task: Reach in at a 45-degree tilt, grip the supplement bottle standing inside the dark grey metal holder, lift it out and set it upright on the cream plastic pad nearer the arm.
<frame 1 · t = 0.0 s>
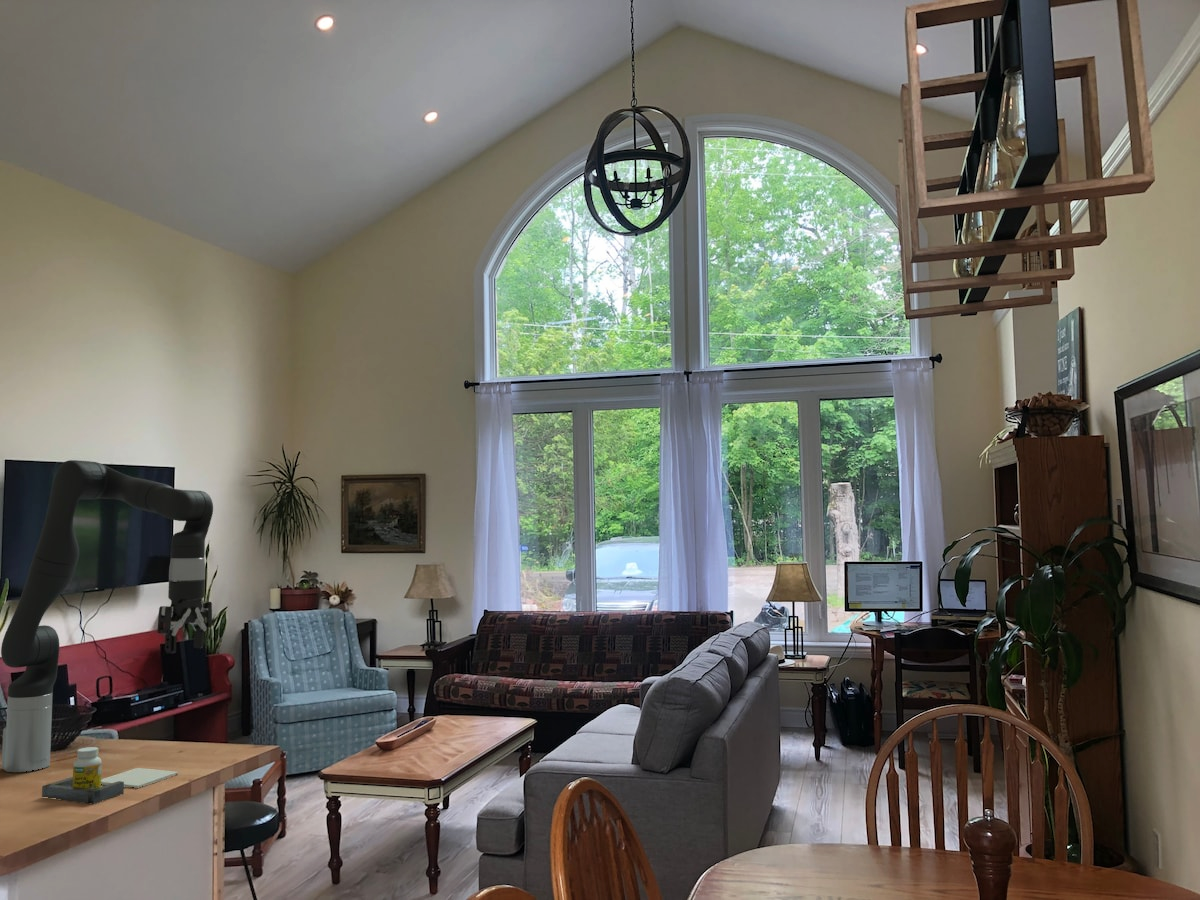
hand: (184, 650, 210), 29 cm above the worktop, tool pointing down, fingers open, 8 cm apart
supplement bottle: (86, 795, 199), resting in metal holder
cream pad: (137, 779, 211), on the worktop
metal holder: (86, 794, 199), on the worktop
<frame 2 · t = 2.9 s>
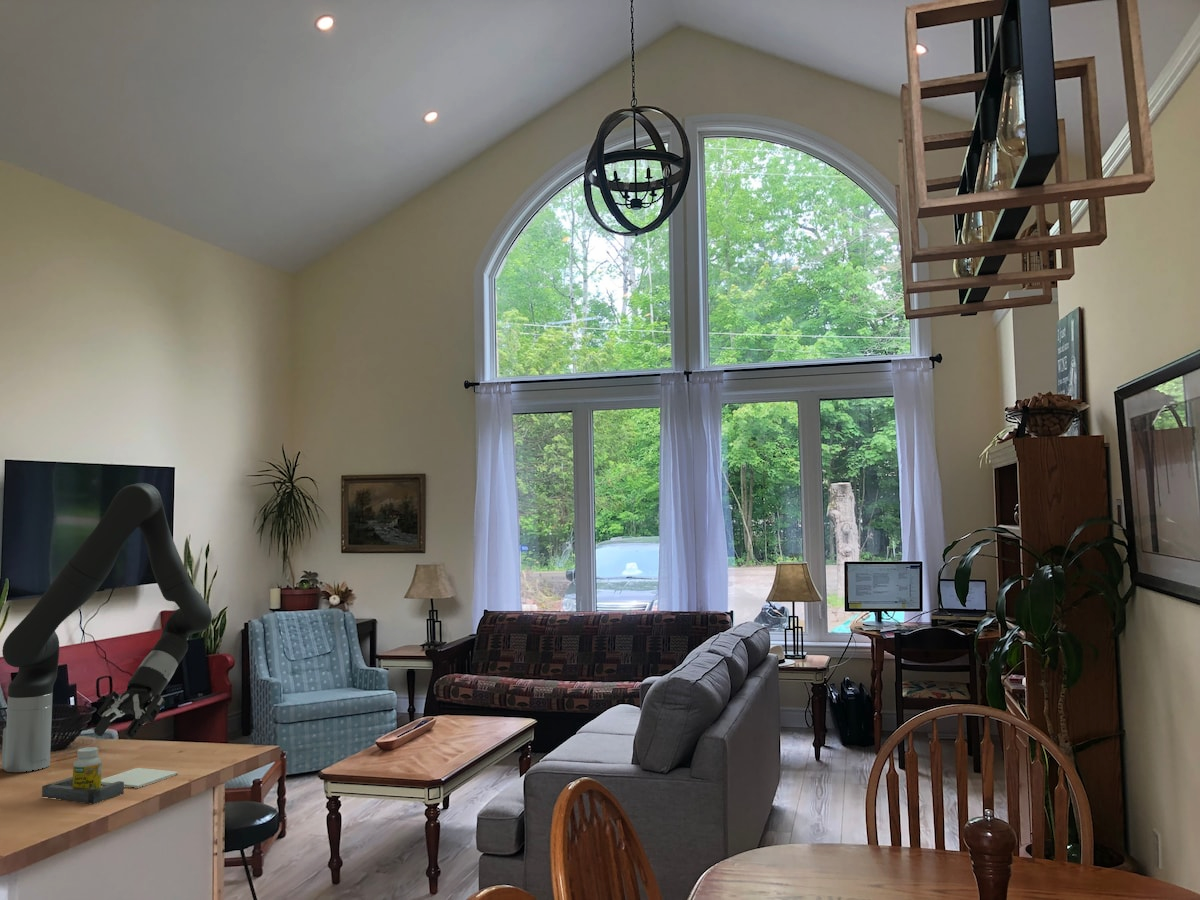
hand: (112, 735, 206), 11 cm above the worktop, tool tilted 45°, fingers open, 8 cm apart
nothing on the worktop moved.
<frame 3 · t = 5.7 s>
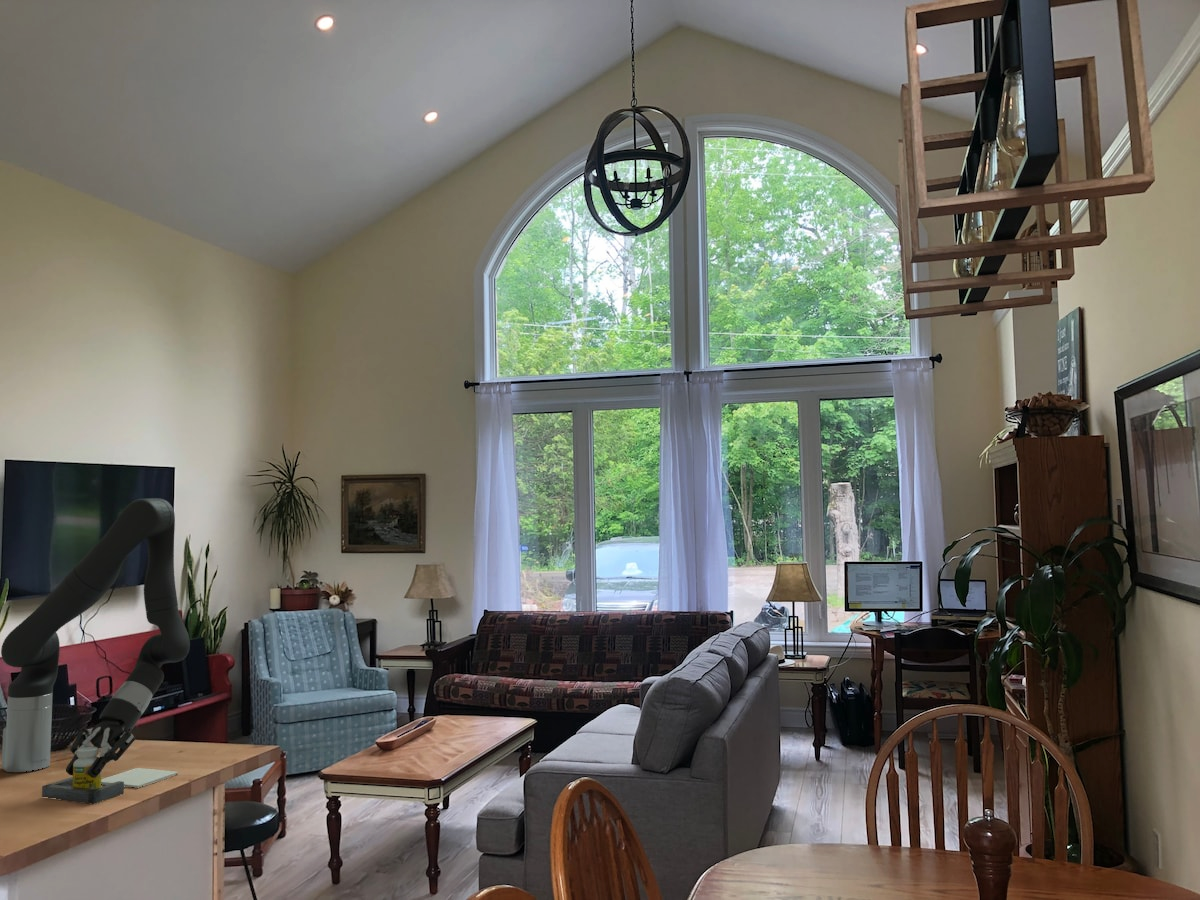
hand: (80, 774, 198), 5 cm above the worktop, tool tilted 45°, fingers closed on supplement bottle, 5 cm apart
supplement bottle: (86, 795, 199), resting in metal holder, touching gripper
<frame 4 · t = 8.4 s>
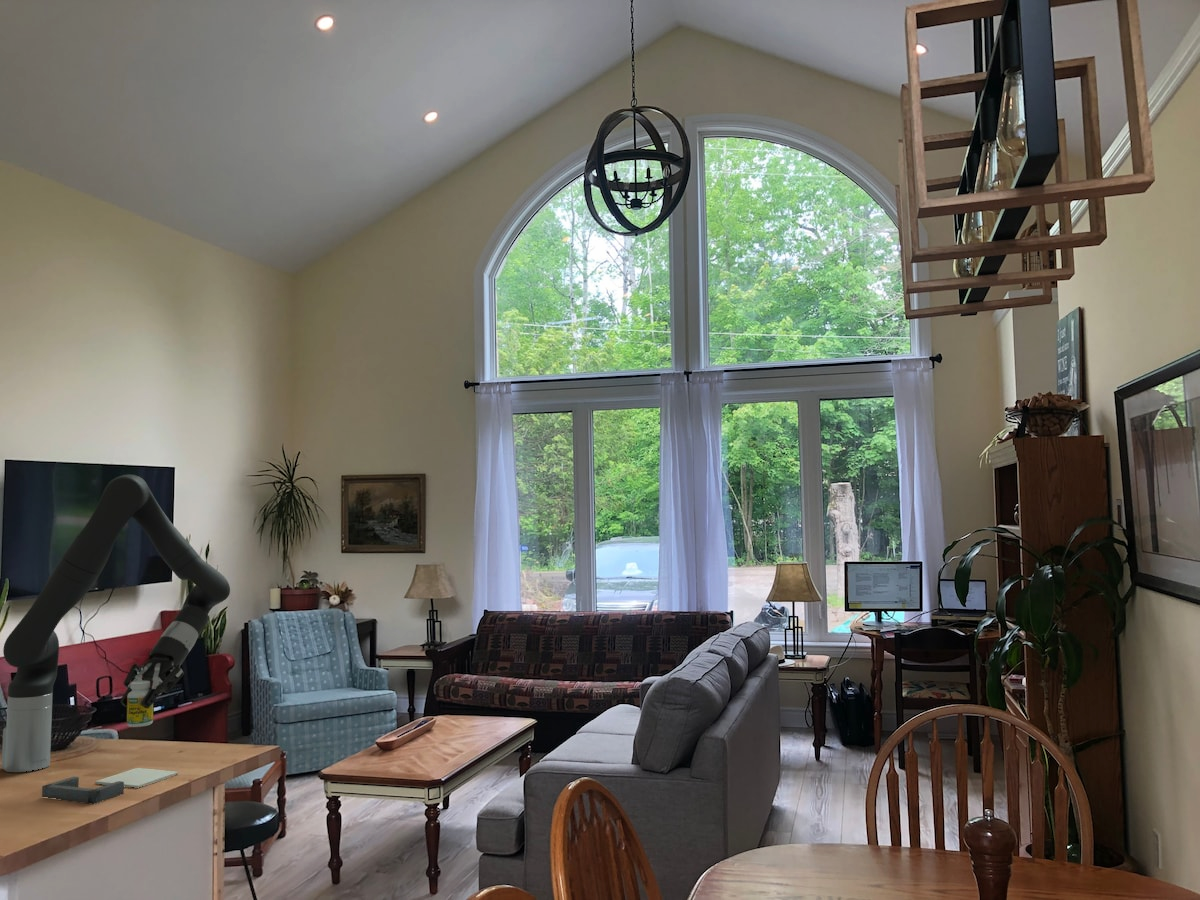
hand: (134, 705, 211), 17 cm above the worktop, tool tilted 45°, fingers closed on supplement bottle, 5 cm apart
supplement bottle: (139, 725, 212), point 12 cm above the worktop, touching gripper
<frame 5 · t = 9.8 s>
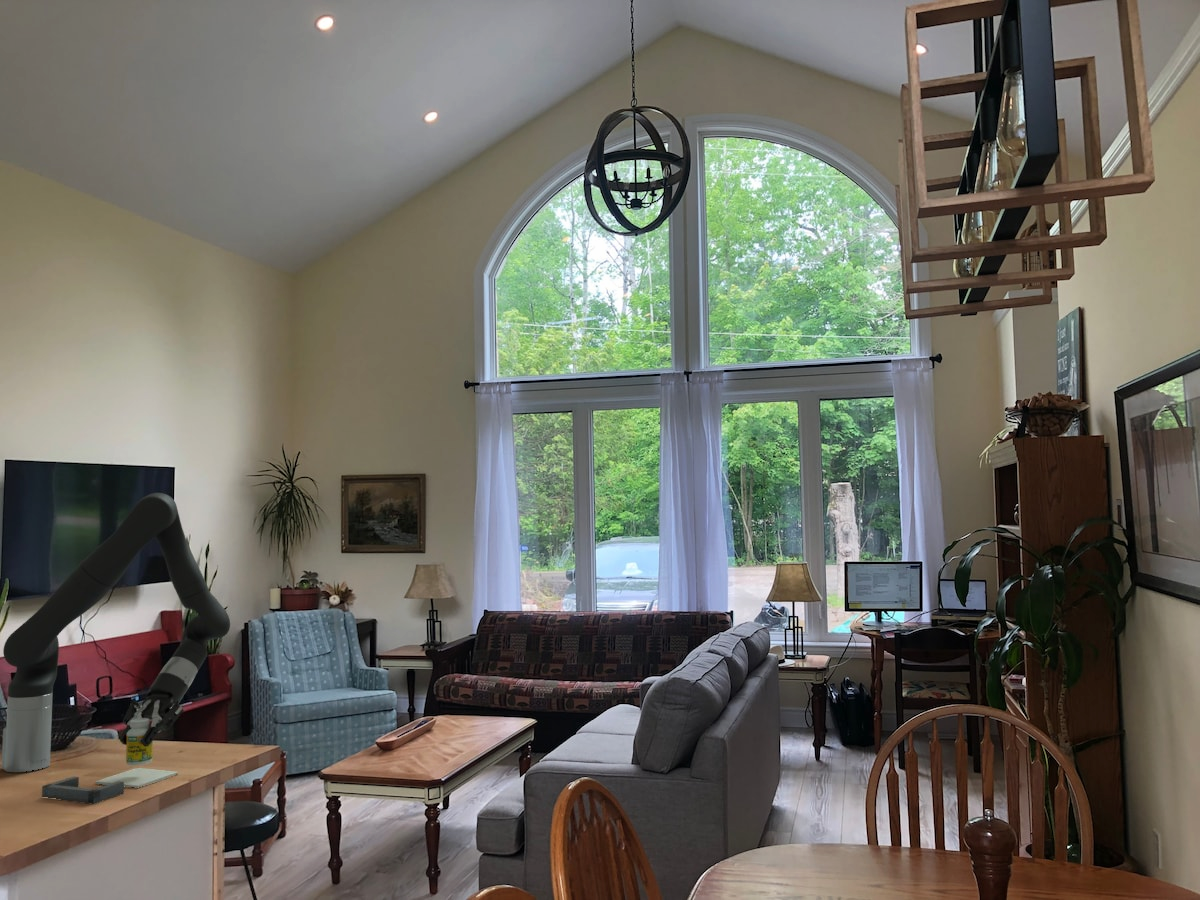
hand: (133, 743, 210), 8 cm above the worktop, tool tilted 45°, fingers closed on supplement bottle, 5 cm apart
supplement bottle: (139, 763, 212), point 3 cm above the worktop, touching gripper
when the fingers open (7 cm above the worktop, at t = 11.1 s): supplement bottle drops 1 cm, resting on cream pad.
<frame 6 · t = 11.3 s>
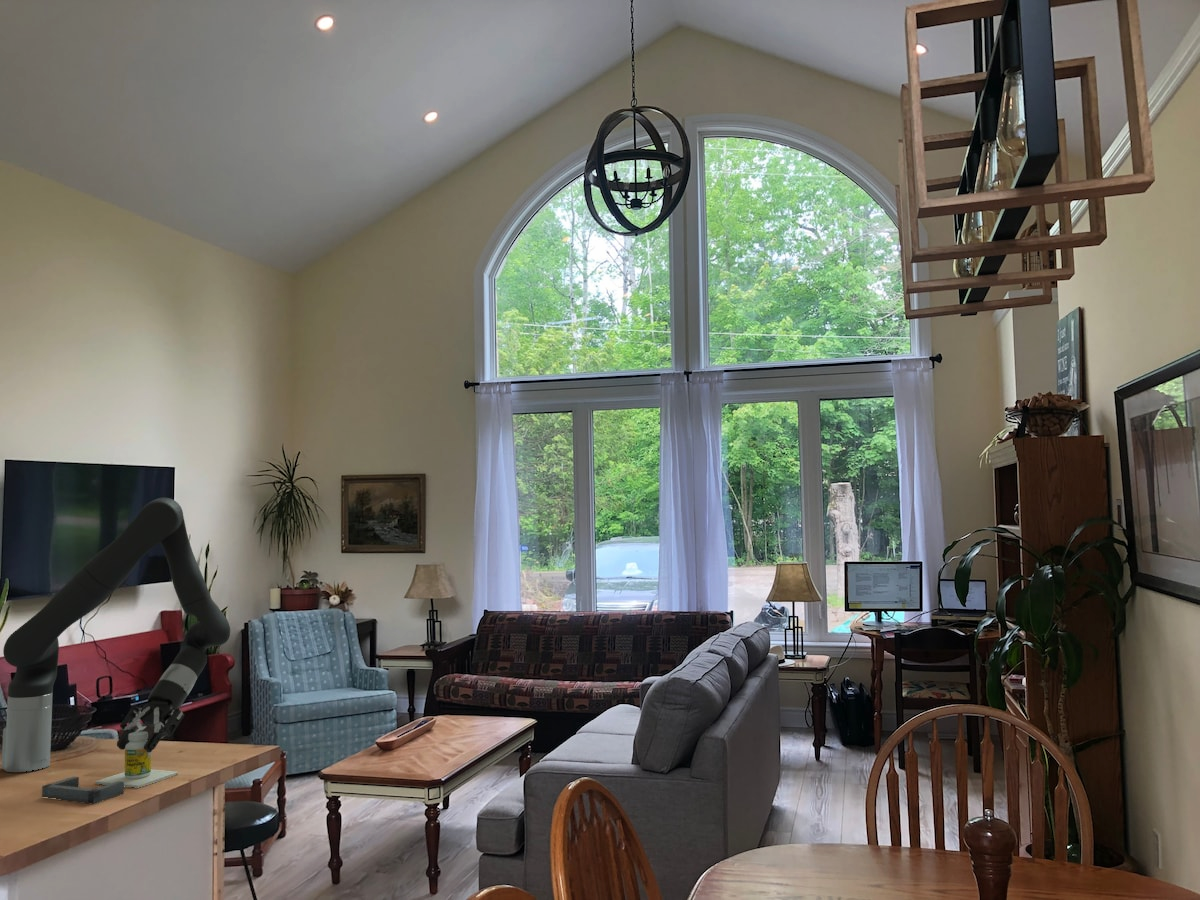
hand: (133, 748, 210), 7 cm above the worktop, tool tilted 45°, fingers open, 7 cm apart
supplement bottle: (137, 776, 212), resting on cream pad
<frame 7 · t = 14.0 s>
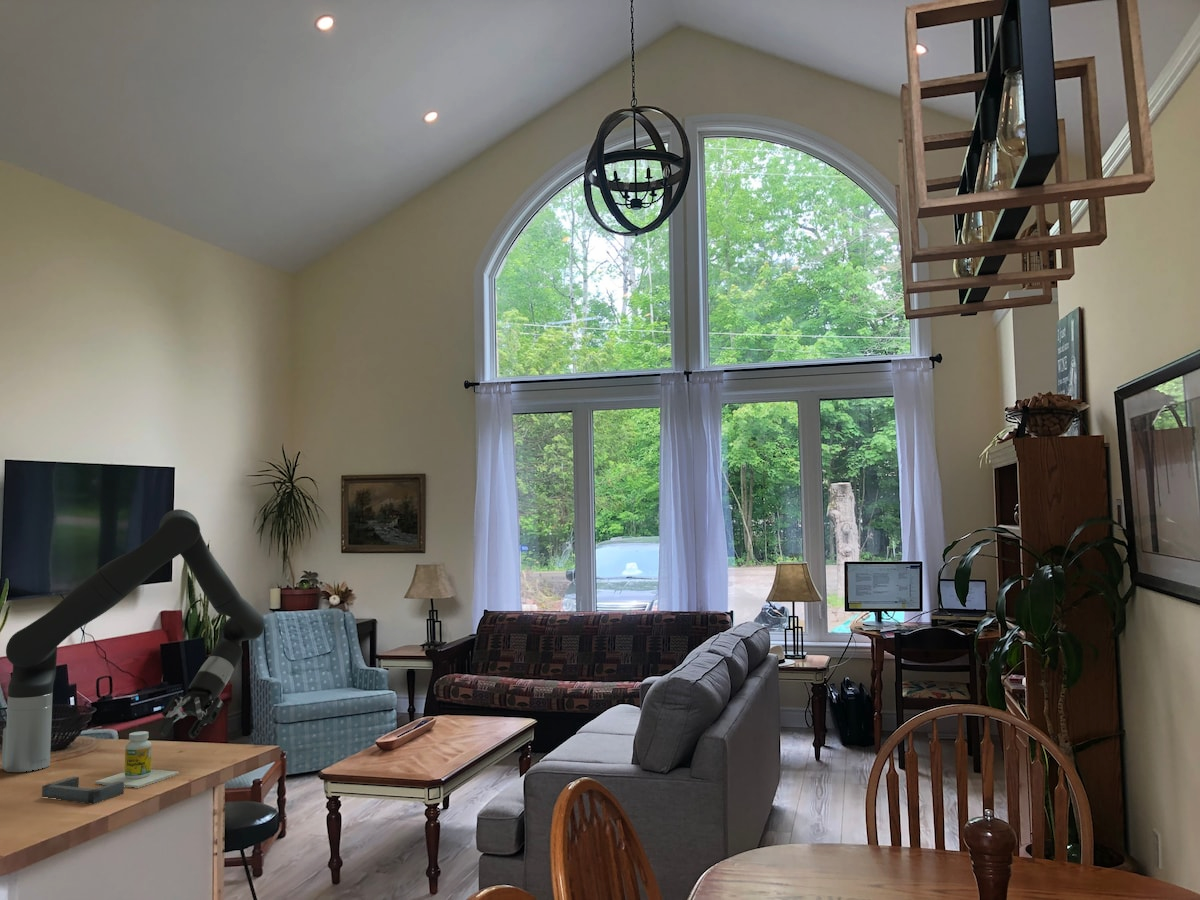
hand: (176, 735, 223), 7 cm above the worktop, tool tilted 45°, fingers open, 8 cm apart
nothing on the worktop moved.
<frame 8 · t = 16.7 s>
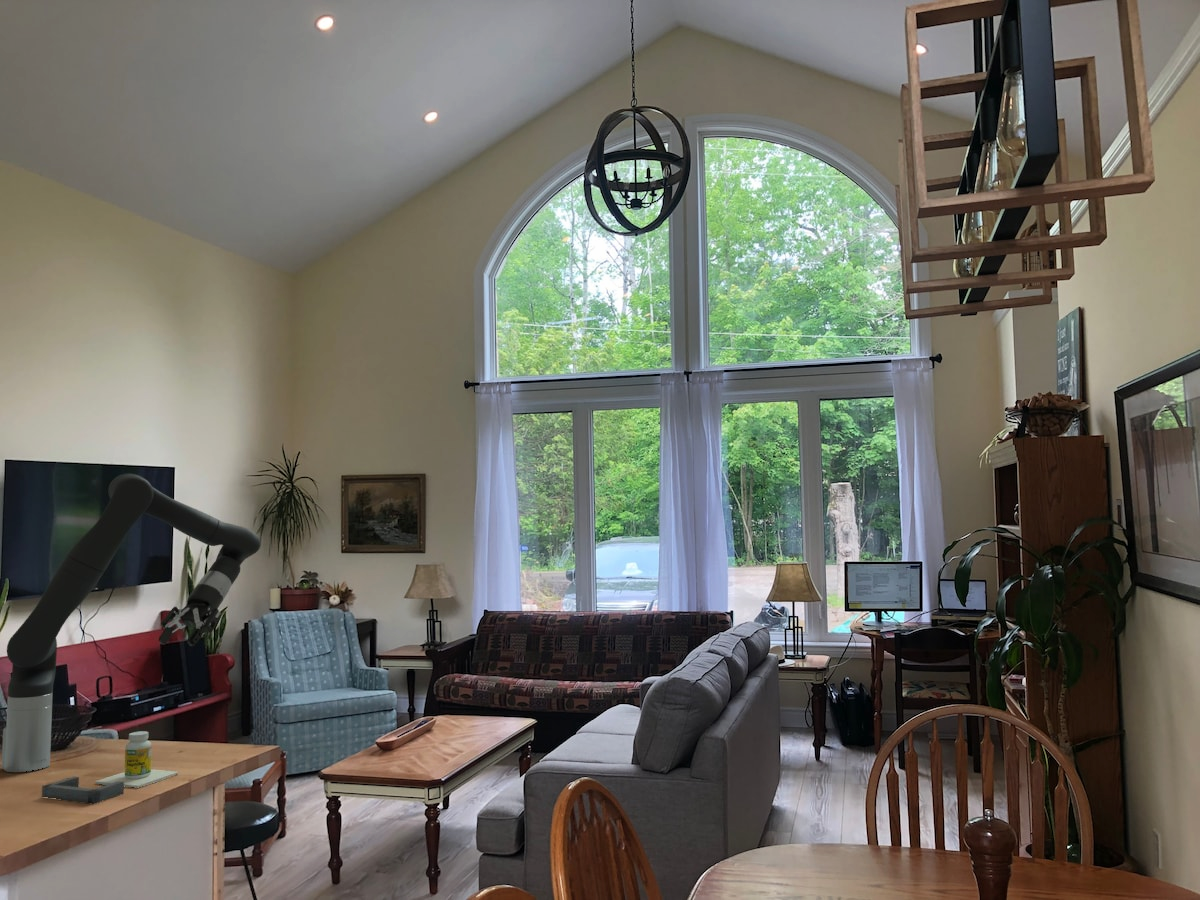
hand: (175, 643, 227), 29 cm above the worktop, tool tilted 45°, fingers open, 8 cm apart
nothing on the worktop moved.
at the end: supplement bottle inside the target area on the cream pad (0.3 cm from its centre), point 0.4 cm above the cream pad's base; supplement bottle tilted 0°; the gripper is holding nothing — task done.
